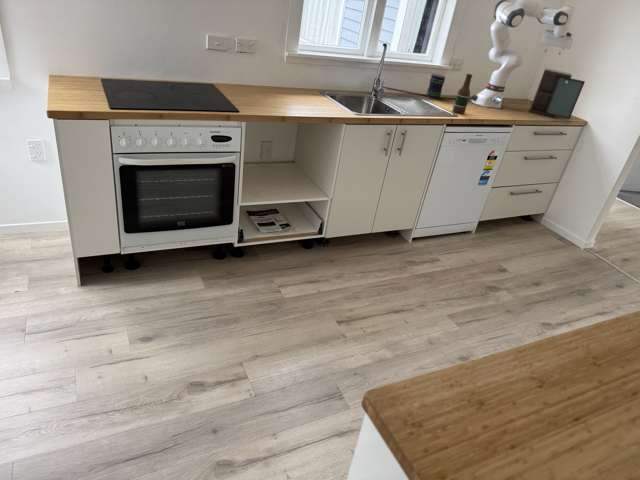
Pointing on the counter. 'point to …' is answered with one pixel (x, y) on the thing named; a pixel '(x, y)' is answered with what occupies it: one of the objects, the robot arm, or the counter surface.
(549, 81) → the display cabinet
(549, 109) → the glass door
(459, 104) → the beer bottle
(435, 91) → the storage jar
